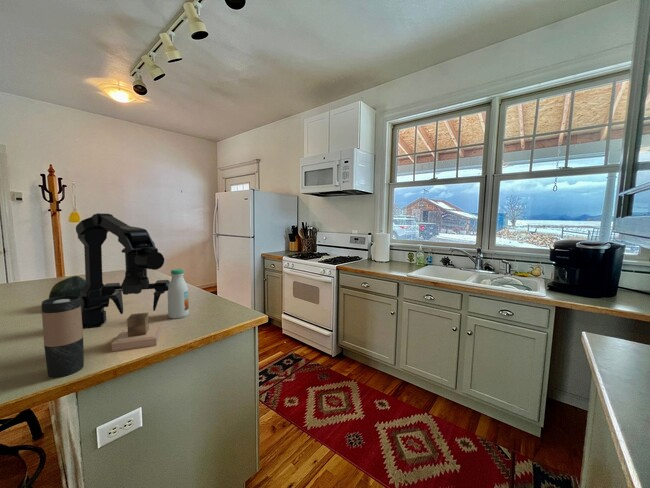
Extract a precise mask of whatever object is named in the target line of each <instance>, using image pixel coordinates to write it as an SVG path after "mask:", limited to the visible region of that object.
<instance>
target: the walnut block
mask: <svg viewBox="0 0 650 488" xmlns="http://www.w3.org/2000/svg"><path fill="white" fill-rule="evenodd" d="M126 325H127V328H128V337H132V336H140V335H146V334H147V332H148V330H149V326H150V324H149V312H141V313H131V314H130V315H129V316H128V317H127V319H126Z"/></svg>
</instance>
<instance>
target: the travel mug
mask: <svg viewBox="0 0 650 488" xmlns="http://www.w3.org/2000/svg"><path fill="white" fill-rule="evenodd" d="M41 317H42V318H41V320H42V321H41V322H42V333H43V334H42V335H43V336H42V337H43V348H44V356H45V364H46V370H47V371H46V372H47V376H48V377H49V378H51V379H58V378H64V377H67V376H70V375H73V374H75V373H78V372H80V371H82V370H83V368H84V366H85V364H84V363H85V360H84V359H85V358H84V357H85V353H84V352H85V351H84V350H85V349H84V328H83V327H82V315H81V302H80V297H79V296H60V297H54V298H50V299H49V298H47V299H44V300H43V301H42V302H41Z"/></svg>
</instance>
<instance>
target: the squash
mask: <svg viewBox="0 0 650 488" xmlns="http://www.w3.org/2000/svg"><path fill="white" fill-rule="evenodd" d="M85 284H86V278H83V277H81V276H79V275H74V276H70V277H67V278H65V279H63V280H60V281H58V282H57V283H55V284H54V285H53V286H52V288H51V290H50V292H49V295H48V299H50V298H54V297H60V296H79V297H80V291H81V290H82V288H83V287H84V285H85Z"/></svg>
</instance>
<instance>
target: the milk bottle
mask: <svg viewBox="0 0 650 488" xmlns="http://www.w3.org/2000/svg"><path fill="white" fill-rule="evenodd" d="M170 275H171V279H170V288H169V290H168V291H167V316H168V317H169V318H170V319H181V318H185V317H187V316H189V313H190V312H189V311H190V308H189V288H188V284H187V282H186V280H185V279H184V269H182V268H174V269H171V270H170Z"/></svg>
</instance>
